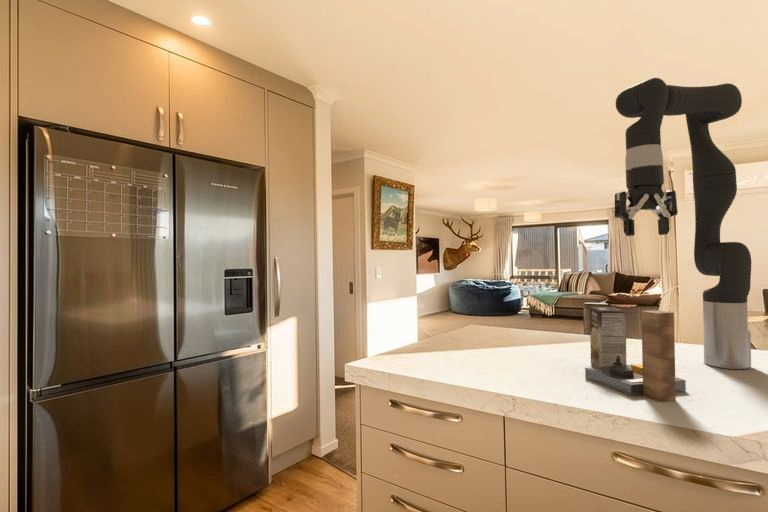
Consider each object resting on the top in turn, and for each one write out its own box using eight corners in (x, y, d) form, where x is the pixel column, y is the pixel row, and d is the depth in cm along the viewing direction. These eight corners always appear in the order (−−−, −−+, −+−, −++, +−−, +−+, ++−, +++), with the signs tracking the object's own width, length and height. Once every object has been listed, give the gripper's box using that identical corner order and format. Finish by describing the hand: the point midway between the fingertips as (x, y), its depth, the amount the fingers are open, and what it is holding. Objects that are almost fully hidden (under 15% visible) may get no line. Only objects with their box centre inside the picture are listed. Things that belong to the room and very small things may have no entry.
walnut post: (658, 394, 87) (657, 310, 87) (675, 400, 83) (673, 312, 84) (643, 395, 86) (641, 311, 87) (659, 401, 83) (657, 313, 83)
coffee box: (589, 364, 112) (588, 306, 112) (614, 365, 111) (613, 306, 111) (600, 373, 103) (599, 310, 103) (628, 374, 102) (627, 310, 102)
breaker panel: (634, 376, 102) (633, 358, 102) (685, 393, 89) (685, 373, 89) (585, 380, 100) (585, 362, 100) (631, 399, 86) (630, 378, 86)
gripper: (659, 170, 101) (662, 235, 101) (605, 171, 100) (608, 237, 99) (684, 163, 93) (687, 233, 93) (627, 163, 92) (629, 235, 92)
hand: (646, 235), depth 96 cm, fingers open, 8 cm apart
